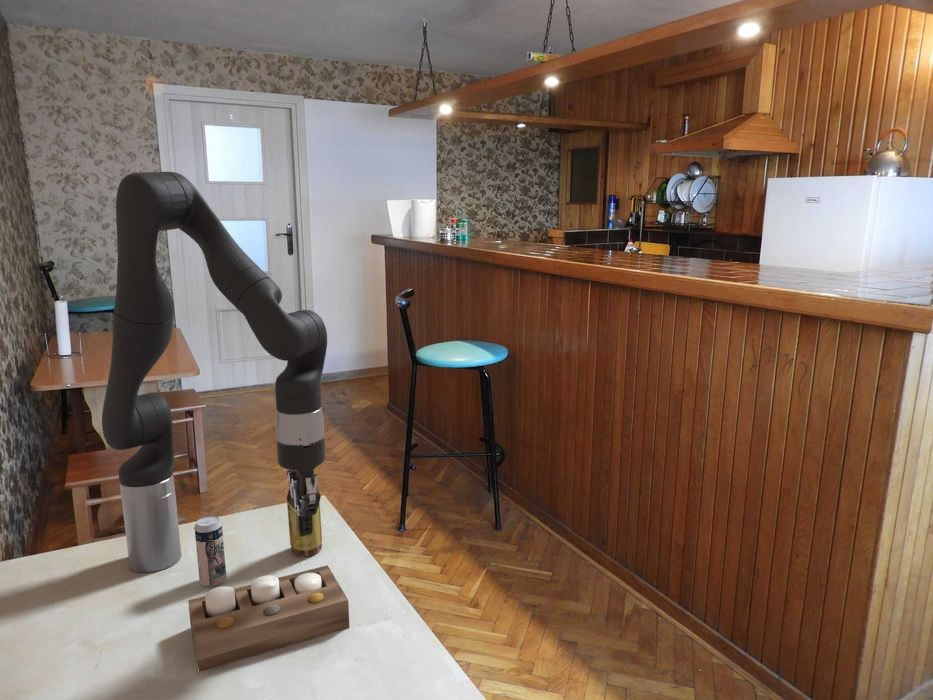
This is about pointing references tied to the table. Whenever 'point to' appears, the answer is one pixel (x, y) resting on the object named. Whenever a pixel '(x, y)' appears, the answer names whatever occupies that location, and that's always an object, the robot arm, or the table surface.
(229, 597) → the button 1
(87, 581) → the table surface
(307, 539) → the sauce bottle
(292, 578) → the button board
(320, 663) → the table surface
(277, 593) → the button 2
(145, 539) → the robot arm
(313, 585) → the button
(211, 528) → the beer can
